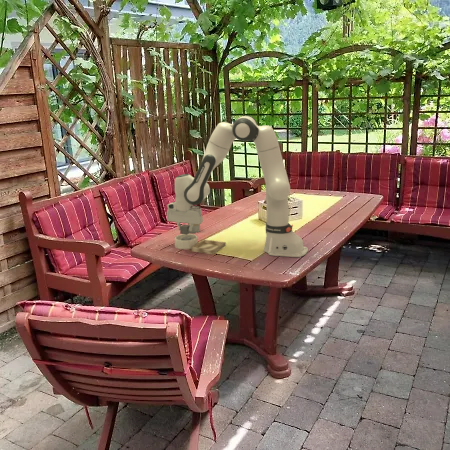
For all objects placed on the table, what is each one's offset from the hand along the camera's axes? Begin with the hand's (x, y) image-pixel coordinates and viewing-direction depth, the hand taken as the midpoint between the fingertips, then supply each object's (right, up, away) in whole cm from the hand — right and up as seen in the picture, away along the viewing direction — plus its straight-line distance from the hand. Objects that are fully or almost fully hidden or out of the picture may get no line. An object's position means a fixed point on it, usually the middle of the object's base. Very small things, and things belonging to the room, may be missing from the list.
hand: (185, 230), depth 250 cm
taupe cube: (0, -8, +3) cm, 8 cm away
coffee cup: (+3, -1, +29) cm, 29 cm away
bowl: (0, -9, +3) cm, 9 cm away
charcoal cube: (0, -1, +1) cm, 1 cm away
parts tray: (+13, -10, -3) cm, 17 cm away
